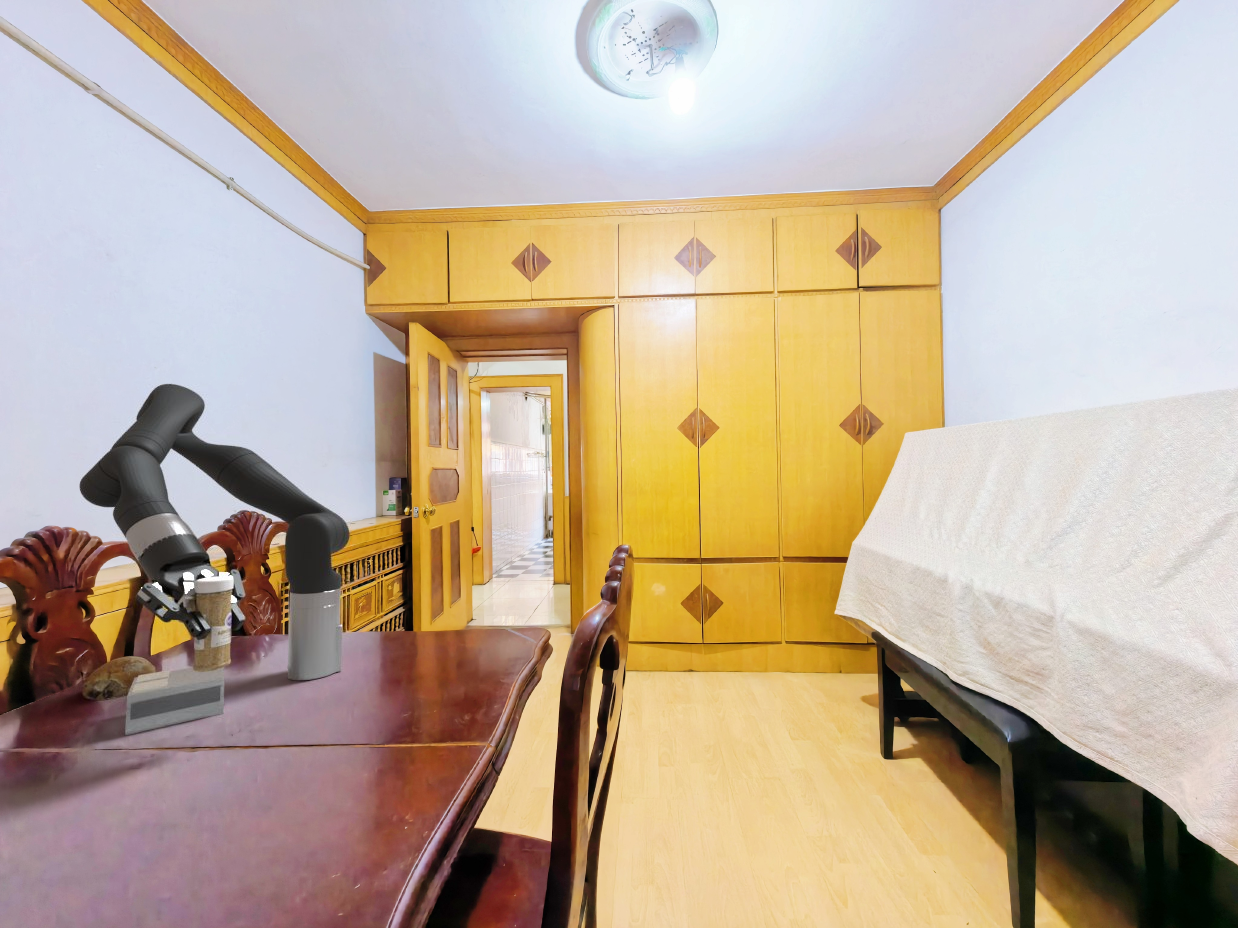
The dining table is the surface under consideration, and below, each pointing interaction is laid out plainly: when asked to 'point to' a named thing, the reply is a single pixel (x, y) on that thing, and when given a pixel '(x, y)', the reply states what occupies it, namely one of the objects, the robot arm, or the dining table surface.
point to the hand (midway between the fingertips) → (222, 630)
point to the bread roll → (115, 677)
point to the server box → (173, 698)
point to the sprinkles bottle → (214, 622)
